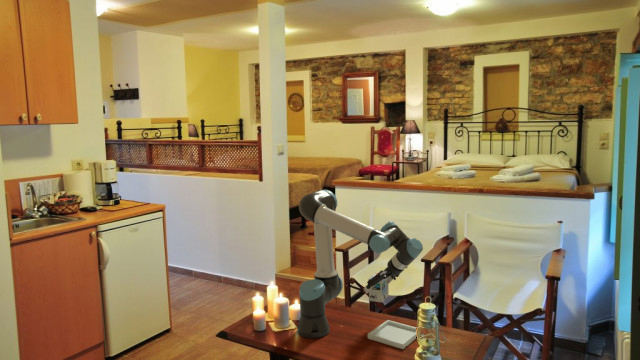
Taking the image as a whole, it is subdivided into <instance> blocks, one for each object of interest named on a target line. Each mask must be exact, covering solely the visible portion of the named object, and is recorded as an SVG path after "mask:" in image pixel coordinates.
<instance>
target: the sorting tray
mask: <svg viewBox="0 0 640 360" xmlns="http://www.w3.org/2000/svg"><path fill="white" fill-rule="evenodd" d="M416 328H417V326H412V325H408V324H404V323H401V322H397V321H393V320H389V319H387V320H385V321H384V322H383V323H381V324H380V325H378V326H377V327H375V328H374V329H372V330H371V331H370V332H368V333H367V340H368V339H369V340H372V341H375V342H378V343H381V344H385V345H388V346H392V347H394V348H398V349H400V350H404V349H405V348H407V347H408V346H409V345H410V344H412V343H413V342H414V341H415V340H416V339H417V338H416ZM406 346H407V347H406Z"/></svg>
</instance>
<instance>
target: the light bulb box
mask: <svg viewBox="0 0 640 360" xmlns="http://www.w3.org/2000/svg"><path fill="white" fill-rule="evenodd" d="M378 273H379V272H378V271H377V272H374V273H373V274H372V275H371V276H370V277H369V278H368V280H370V279H372V278H373V277H374V276H375V275H377V274H378ZM385 277H386V275H385ZM389 286H390V285H389V284H388V278H386V279H383V280H381V281H380V282H378V283H377V284H375V285H374V287H373V288H372V289H371V290H370V291H369V292H368V301H369V302H377V303H383V302H384V301H385V300H386V299H387V298H388V297H389V294H390V293H389V292H390V291H389V290H390V288H389Z"/></svg>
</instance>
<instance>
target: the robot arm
mask: <svg viewBox="0 0 640 360" xmlns="http://www.w3.org/2000/svg"><path fill="white" fill-rule="evenodd" d="M298 203H299V204H298V210H299V213H300V215H301V216H302V217H304V219H306V220H308V221H309V222H311V223H313V230H314V231H313V233H314V247H315V262H316V271H315V272H314V273H313V274H314V275H313V276H314V278H313V279H310V280H309V279H307V280H305V281H304V282H302V283H301V284H300V286H299V292H298V294H299V311H300V317H299V320H298V324H297V326H296V327H297V328H296V329H297V332H296V333H297V334H298V335H299V336H300V337H302V338H306V339H318V338H323V337H325V336H327V335H328V334H329V333H330V323H329V322H328V319H327V316H326V305H327V304H328V303H329V302H331V301H333V300H334V299H336V298H337V297H338V296H339V295H340V294H341V292H342V291H343V287H344V286H343V285H344V284H343V283H344V282H343V279H342V278H341V277H340V275H339V272H338V271H337V270H336V268H335V257H334V255H335V254H334V244H333V230H334V231H337V232H339V233H341V234H343V235H345V236H348V237H349V238H352V239H355V240H356V241H359V242H361V243H363V244H366V245H367V246H369V247H370V249H371V251H372V252H374V253H376V254H382V253H384V252H386V251H388V250H389V249H391V248H392V247H393V248H394V249H395V250H396V251H397V252H396V253H394V255H393V256H392V257H391V258H390V259H389V260H388V261H387V264H386V265H387V267H386V268H384V270H380V271H379V272H377V273H378V274H377V275H375V276H374V277H373V278H372V279H370V280H369V279H368V280H367V282H366V283H367V284H366V285H365V286H364V288H363V290H364V292H365V294H369V291H370V290H371V289H372V288H373V287H374V285H375V284H377V283H378V282H380V281H381V280H383V279H386V278H388V285H389V284H390V283H392V281H393V280H394V281H397V278H398V277H400V275H401V273H403V271H405V269H408V268H409V265H410V264H411V263H413V262H414V261H415V260H416V259H417V258H418V257H419V255H420V254H421V253H422V252H423V250H424V247H423V246H424V245H423V243H422V242H421V241H420V240H419V239H417V238H415V237H411V238H410V237H408V236H407V234H406V233H404V231H403V230H402V229H401V228H400V227H399V226H398V225H397V224H396V223H395V222H394V221H393V220H389V221H388V222H386V223H385V224H384V225H383V226H382V227H381V228H380V230H378V229H377V228H374V227H371V226H369V225H368V224H365V223H364V222H363V223H362V222H360V221H359V220H356V219H354V218H352V217H348V216H347V215H344V214H342V213H340V212H338V211H336V209H337V207H338V199H337V197H336V195H335V193H333V192H332V191H331V190H328V189H321V190H317V191H314V192H311V193H307V194H305V195H304V196H302V198H300V201H299V202H298ZM385 275H386V277H385Z"/></svg>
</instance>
